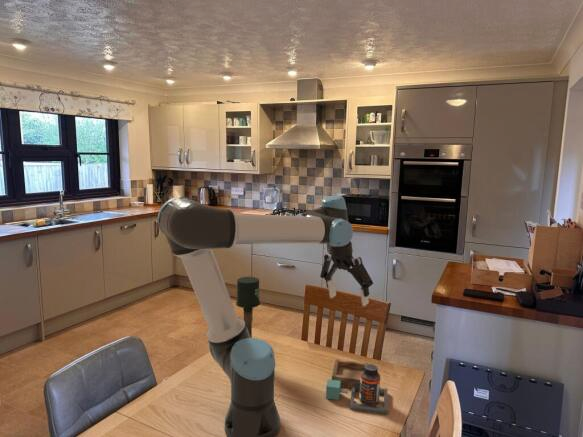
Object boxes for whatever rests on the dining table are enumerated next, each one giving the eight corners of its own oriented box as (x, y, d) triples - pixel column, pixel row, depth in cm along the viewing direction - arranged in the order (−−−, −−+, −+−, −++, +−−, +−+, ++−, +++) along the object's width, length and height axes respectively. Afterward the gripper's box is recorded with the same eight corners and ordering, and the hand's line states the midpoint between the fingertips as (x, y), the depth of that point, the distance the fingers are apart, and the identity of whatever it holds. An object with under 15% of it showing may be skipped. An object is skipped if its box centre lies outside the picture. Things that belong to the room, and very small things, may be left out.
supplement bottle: (357, 404, 125) (359, 369, 123) (361, 393, 130) (362, 360, 128) (377, 408, 123) (379, 373, 121) (380, 398, 128) (382, 364, 126)
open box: (331, 384, 135) (331, 376, 134) (335, 367, 146) (335, 359, 145) (366, 389, 133) (367, 380, 132) (367, 371, 144) (368, 363, 143)
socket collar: (349, 409, 122) (349, 404, 122) (352, 388, 133) (352, 384, 132) (387, 414, 120) (387, 409, 120) (387, 393, 130) (387, 389, 130)
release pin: (325, 398, 127) (326, 386, 126) (327, 391, 131) (328, 379, 130) (347, 401, 126) (347, 389, 125) (348, 393, 130) (348, 382, 129)
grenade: (258, 364, 146) (259, 283, 142) (234, 364, 147) (234, 283, 142) (260, 353, 155) (261, 276, 150) (237, 352, 155) (237, 275, 150)
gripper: (378, 242, 129) (386, 302, 135) (318, 235, 146) (327, 289, 152) (365, 251, 124) (374, 313, 130) (304, 242, 141) (314, 298, 147)
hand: (348, 300), depth 141 cm, fingers open, 13 cm apart
